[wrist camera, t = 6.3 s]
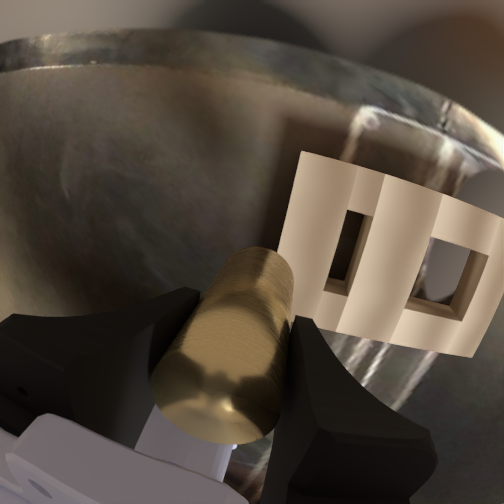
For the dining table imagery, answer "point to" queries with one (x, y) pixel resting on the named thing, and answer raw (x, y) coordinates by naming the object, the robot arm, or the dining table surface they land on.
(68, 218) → the dining table surface
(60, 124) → the dining table surface
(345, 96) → the dining table surface
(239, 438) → the gold metal cylinder
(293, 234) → the holder
